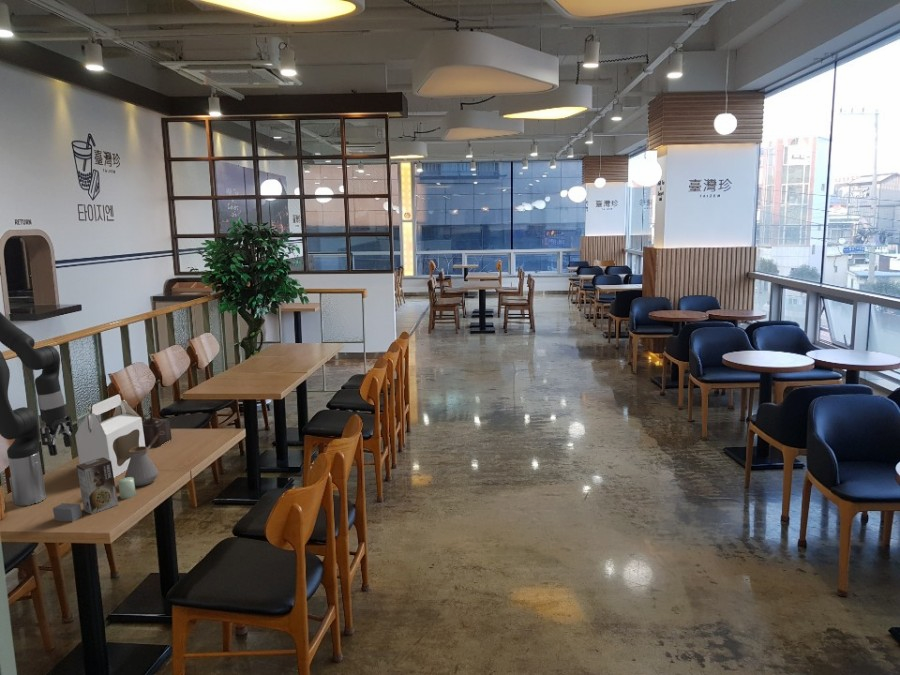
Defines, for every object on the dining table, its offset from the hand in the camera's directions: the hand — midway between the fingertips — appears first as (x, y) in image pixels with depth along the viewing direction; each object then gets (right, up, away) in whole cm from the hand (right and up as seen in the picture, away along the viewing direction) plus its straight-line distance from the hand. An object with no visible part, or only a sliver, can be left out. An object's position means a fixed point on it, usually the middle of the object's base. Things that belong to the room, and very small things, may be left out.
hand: (61, 450), depth 235 cm
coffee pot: (+20, -14, +25) cm, 35 cm away
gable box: (+1, -13, +36) cm, 38 cm away
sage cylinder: (+19, -17, +8) cm, 27 cm away
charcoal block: (+7, -21, -9) cm, 24 cm away
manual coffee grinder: (+4, -8, +62) cm, 62 cm away
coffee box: (+14, -19, -1) cm, 24 cm away
